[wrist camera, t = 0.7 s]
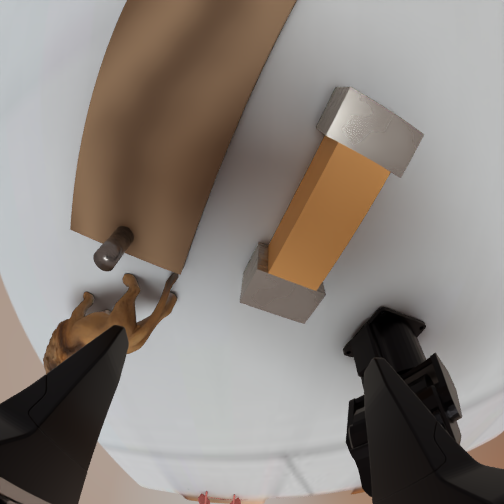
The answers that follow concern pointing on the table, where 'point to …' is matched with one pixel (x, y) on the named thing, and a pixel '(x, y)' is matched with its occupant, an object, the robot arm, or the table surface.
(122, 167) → the board
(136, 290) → the lion figurine
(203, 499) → the figurine
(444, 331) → the table surface
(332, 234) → the hammer
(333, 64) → the table surface
